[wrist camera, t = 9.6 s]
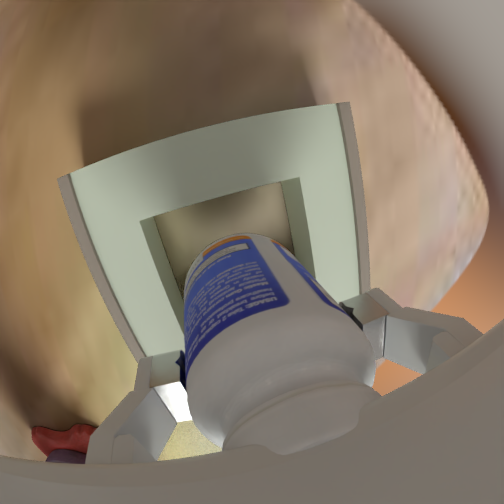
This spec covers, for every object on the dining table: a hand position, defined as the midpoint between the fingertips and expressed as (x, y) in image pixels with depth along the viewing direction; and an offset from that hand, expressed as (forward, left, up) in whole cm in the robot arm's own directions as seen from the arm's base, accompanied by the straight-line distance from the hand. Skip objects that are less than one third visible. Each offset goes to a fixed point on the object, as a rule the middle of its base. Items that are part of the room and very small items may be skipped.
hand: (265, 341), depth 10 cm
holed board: (0, 0, -9) cm, 9 cm away
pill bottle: (0, 0, -5) cm, 5 cm away
